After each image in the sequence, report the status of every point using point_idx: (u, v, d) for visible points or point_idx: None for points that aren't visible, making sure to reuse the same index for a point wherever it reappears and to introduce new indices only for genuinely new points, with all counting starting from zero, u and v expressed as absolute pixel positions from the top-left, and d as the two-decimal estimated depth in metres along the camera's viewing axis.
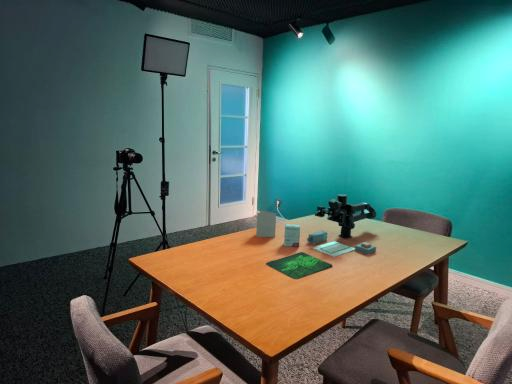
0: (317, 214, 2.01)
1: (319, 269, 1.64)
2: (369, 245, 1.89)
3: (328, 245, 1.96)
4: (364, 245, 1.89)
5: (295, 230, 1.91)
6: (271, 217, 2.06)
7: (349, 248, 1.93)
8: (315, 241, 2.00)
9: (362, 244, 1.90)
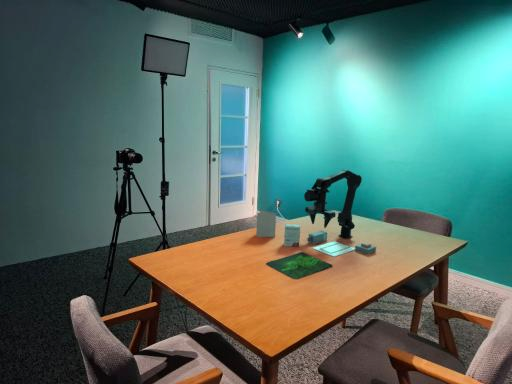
0: (313, 220, 2.05)
1: (319, 269, 1.64)
2: (369, 245, 1.89)
3: (328, 245, 1.96)
4: (364, 245, 1.89)
5: (295, 230, 1.91)
6: (271, 217, 2.06)
7: (349, 248, 1.93)
8: (315, 241, 2.00)
9: (362, 244, 1.90)
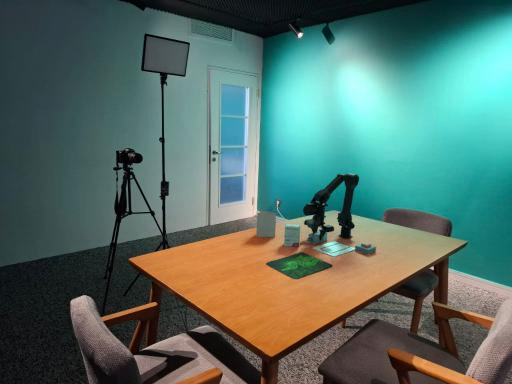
0: None
1: (319, 269, 1.64)
2: (369, 245, 1.89)
3: (328, 245, 1.96)
4: (364, 245, 1.89)
5: (295, 230, 1.91)
6: (271, 217, 2.06)
7: (349, 248, 1.93)
8: (315, 241, 2.00)
9: (362, 244, 1.90)
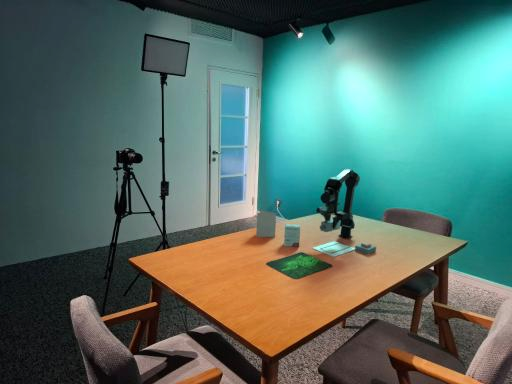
0: None
1: (319, 269, 1.64)
2: (369, 245, 1.89)
3: (328, 245, 1.96)
4: (364, 245, 1.89)
5: (295, 230, 1.91)
6: (271, 217, 2.06)
7: (349, 248, 1.93)
8: (328, 229, 1.90)
9: (362, 244, 1.90)
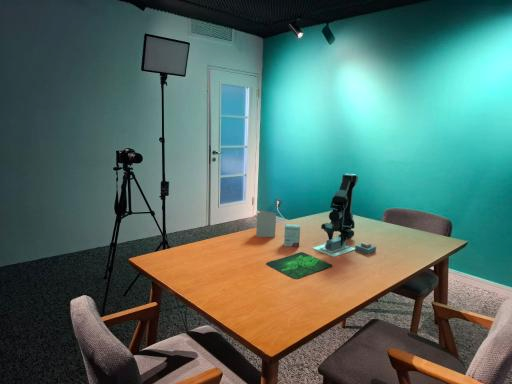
0: (331, 238, 1.95)
1: (319, 269, 1.64)
2: (369, 245, 1.89)
3: None
4: (364, 245, 1.89)
5: (295, 230, 1.91)
6: (271, 217, 2.06)
7: (349, 248, 1.93)
8: (333, 248, 1.88)
9: (362, 244, 1.90)
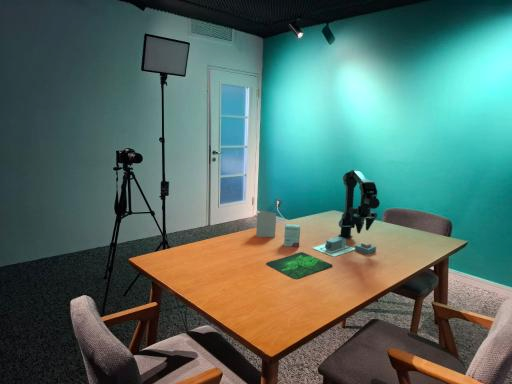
0: (367, 226, 1.91)
1: (319, 269, 1.64)
2: (369, 245, 1.89)
3: None
4: (364, 245, 1.89)
5: (295, 230, 1.91)
6: (271, 217, 2.06)
7: (349, 248, 1.93)
8: (333, 248, 1.88)
9: (362, 244, 1.90)
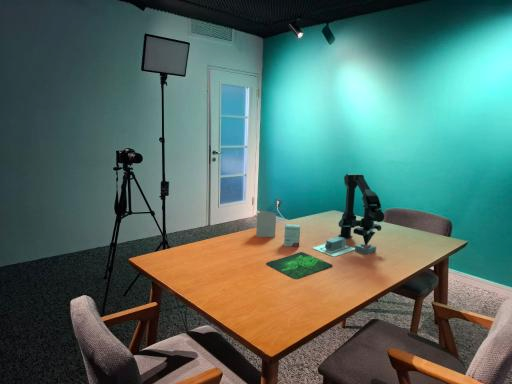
0: None
1: (319, 269, 1.64)
2: (369, 246, 1.89)
3: None
4: (364, 246, 1.89)
5: (295, 230, 1.91)
6: (271, 217, 2.06)
7: (349, 248, 1.93)
8: (333, 248, 1.88)
9: (362, 245, 1.90)
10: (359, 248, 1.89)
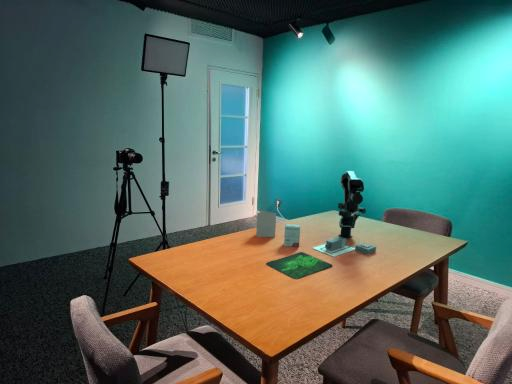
0: None
1: (319, 269, 1.64)
2: None
3: None
4: None
5: (295, 230, 1.91)
6: (271, 217, 2.06)
7: (349, 248, 1.93)
8: (333, 248, 1.88)
9: None
10: (359, 248, 1.89)
